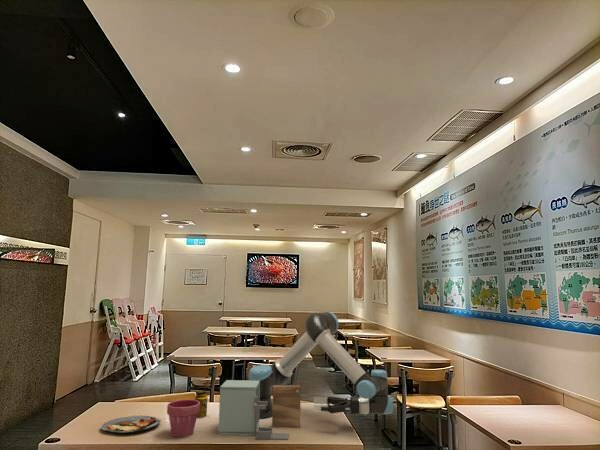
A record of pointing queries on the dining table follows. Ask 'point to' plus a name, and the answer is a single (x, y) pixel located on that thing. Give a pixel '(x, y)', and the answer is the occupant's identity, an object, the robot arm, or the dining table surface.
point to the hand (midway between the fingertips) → (313, 404)
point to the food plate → (130, 424)
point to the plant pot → (183, 416)
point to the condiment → (202, 403)
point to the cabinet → (243, 410)
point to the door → (286, 406)
